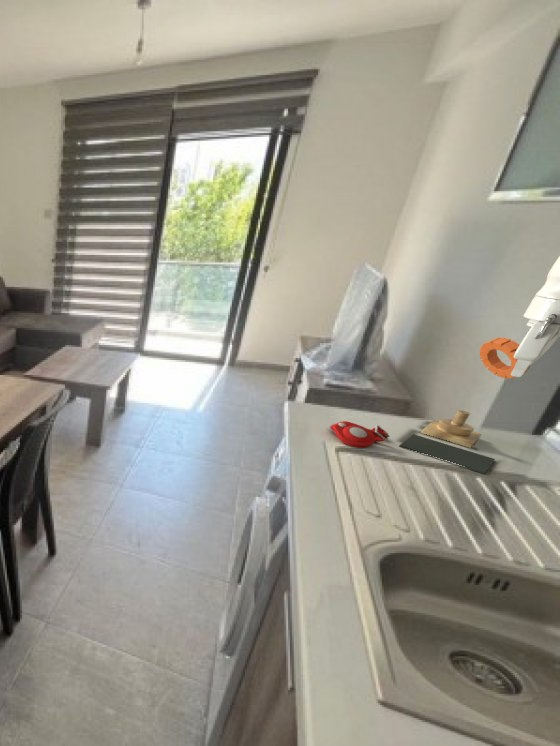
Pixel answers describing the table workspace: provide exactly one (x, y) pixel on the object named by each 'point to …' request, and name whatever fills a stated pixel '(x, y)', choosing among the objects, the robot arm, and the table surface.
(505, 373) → the ring
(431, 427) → the stand
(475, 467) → the mat
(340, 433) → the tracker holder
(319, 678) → the table surface
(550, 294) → the robot arm
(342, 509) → the table surface
